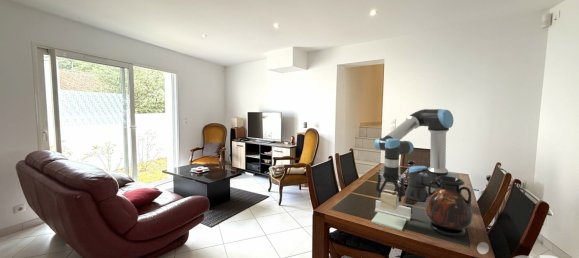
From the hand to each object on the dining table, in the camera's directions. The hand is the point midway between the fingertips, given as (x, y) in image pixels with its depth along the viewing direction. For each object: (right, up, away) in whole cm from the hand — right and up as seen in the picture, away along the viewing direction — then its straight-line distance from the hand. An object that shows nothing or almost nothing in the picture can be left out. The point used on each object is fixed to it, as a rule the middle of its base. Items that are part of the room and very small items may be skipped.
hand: (389, 204), depth 134 cm
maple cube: (0, -1, 0) cm, 1 cm away
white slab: (+6, -9, +10) cm, 15 cm away
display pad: (0, -10, +1) cm, 10 cm away
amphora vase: (+27, -11, -8) cm, 30 cm away
